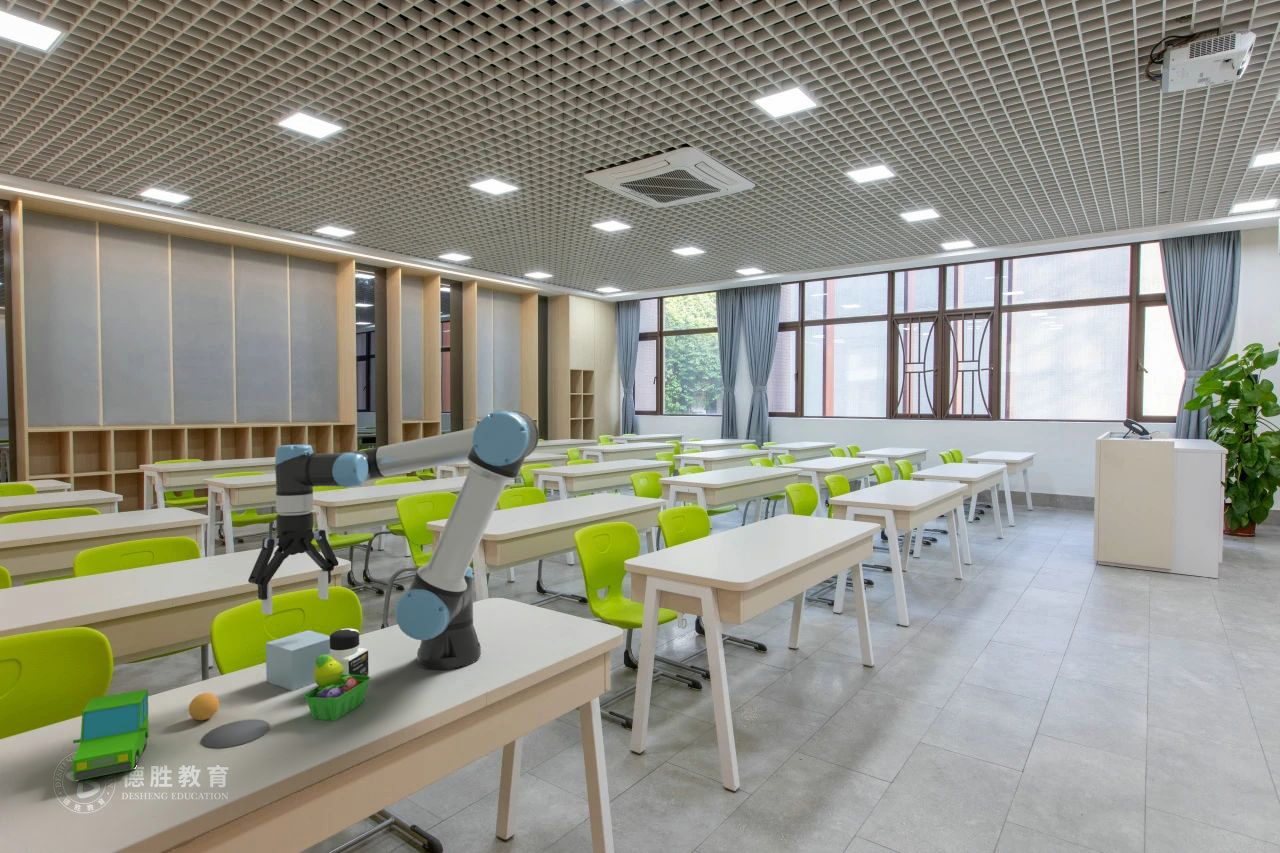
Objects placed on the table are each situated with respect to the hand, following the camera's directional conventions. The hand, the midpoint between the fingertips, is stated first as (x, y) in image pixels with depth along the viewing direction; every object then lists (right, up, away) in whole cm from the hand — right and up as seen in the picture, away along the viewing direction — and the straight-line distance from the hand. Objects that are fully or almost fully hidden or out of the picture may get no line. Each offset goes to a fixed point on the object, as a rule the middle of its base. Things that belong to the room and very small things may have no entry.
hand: (296, 605), depth 152 cm
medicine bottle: (+12, -17, -3) cm, 21 cm away
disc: (+2, -17, -26) cm, 31 cm away
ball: (-8, -15, -19) cm, 26 cm away
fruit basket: (+16, -17, -16) cm, 28 cm away
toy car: (-13, -18, -36) cm, 43 cm away
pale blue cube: (+1, -17, +1) cm, 17 cm away
